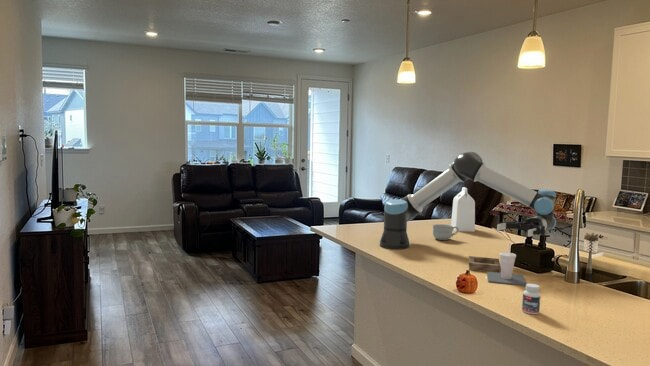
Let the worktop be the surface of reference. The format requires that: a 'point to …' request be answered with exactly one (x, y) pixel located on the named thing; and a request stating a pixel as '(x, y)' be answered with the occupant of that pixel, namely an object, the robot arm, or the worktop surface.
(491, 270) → the wooden tray
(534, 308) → the pill bottle
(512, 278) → the mat
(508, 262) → the smoothie
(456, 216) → the milk
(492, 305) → the worktop surface
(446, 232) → the teacup
